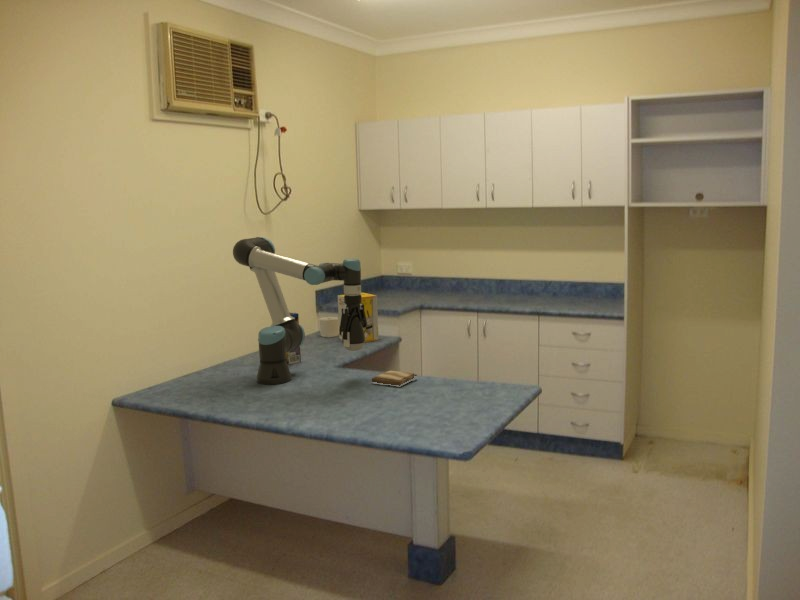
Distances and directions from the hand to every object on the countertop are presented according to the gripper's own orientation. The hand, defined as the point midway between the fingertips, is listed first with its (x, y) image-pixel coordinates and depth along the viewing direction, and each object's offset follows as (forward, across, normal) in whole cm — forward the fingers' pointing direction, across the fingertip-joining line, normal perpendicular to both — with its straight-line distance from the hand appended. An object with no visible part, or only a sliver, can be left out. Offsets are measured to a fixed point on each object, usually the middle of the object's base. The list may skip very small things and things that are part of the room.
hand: (354, 344), depth 321 cm
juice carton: (+16, +12, +49) cm, 53 cm away
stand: (+15, +2, -20) cm, 25 cm away
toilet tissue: (+16, +73, +70) cm, 102 cm away
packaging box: (+16, +70, +47) cm, 86 cm away
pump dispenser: (+3, 0, 0) cm, 3 cm away
